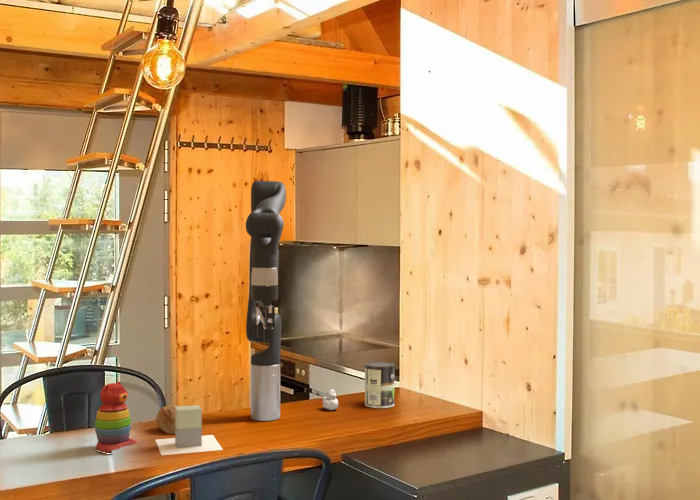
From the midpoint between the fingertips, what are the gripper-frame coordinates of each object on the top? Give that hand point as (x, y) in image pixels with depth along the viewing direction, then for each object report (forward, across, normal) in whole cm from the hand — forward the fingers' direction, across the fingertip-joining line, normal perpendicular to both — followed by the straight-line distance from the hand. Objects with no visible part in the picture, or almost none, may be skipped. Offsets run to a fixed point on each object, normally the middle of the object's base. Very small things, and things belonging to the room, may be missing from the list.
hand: (264, 340), depth 227 cm
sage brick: (+22, +4, -22) cm, 31 cm away
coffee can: (+28, -30, +47) cm, 63 cm away
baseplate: (+28, +4, -22) cm, 36 cm away
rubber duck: (+28, -29, +29) cm, 50 cm away
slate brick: (+27, +4, -22) cm, 35 cm away
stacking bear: (+28, -3, -41) cm, 50 cm away
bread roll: (+28, -15, -24) cm, 40 cm away
